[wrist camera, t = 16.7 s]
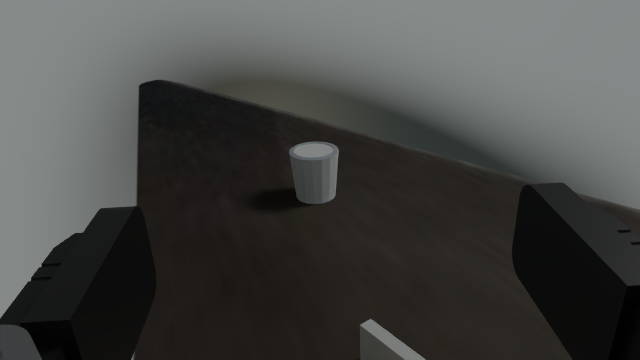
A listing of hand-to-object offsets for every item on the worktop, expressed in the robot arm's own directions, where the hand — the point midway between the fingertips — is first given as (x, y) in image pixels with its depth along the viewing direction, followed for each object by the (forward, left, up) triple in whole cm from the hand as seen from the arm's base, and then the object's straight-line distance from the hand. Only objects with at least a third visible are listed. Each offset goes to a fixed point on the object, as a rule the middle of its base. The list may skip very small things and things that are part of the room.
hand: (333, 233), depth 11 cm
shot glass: (+46, -33, -28) cm, 63 cm away
